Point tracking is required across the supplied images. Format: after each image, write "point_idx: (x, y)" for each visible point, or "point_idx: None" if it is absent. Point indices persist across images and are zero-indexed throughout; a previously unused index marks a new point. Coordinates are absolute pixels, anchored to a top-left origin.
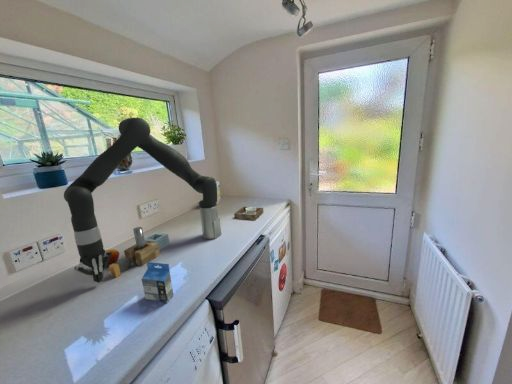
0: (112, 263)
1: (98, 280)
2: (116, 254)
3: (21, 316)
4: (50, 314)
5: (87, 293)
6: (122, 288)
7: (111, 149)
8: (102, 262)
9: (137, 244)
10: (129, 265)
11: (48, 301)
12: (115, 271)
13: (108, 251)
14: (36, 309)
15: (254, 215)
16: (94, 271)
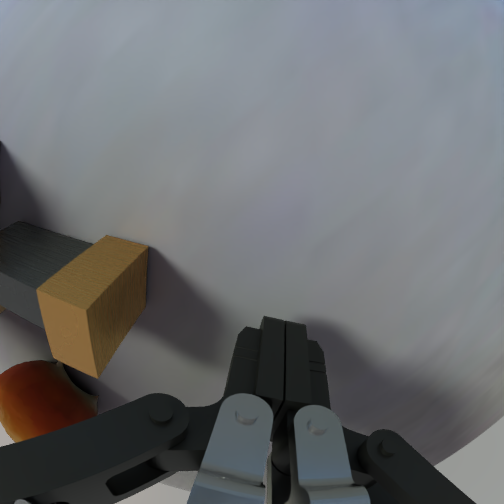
0: (58, 372)
1: (304, 341)
2: (5, 385)
3: (459, 435)
4: (499, 362)
5: (377, 331)
6: (310, 42)
7: None
8: (130, 475)
9: None
10: (16, 232)
11: None
12: (113, 274)
13: (20, 440)
14: (439, 432)
15: None
16: (346, 458)
